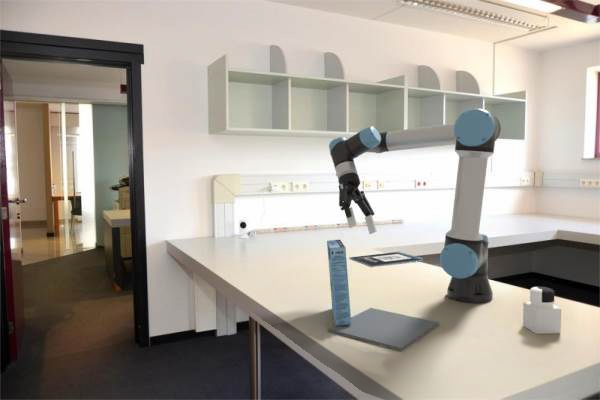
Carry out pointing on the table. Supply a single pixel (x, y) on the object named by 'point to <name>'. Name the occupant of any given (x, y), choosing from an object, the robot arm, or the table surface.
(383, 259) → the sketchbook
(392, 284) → the table surface
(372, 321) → the mat
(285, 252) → the table surface
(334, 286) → the gum box
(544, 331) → the medicine bottle
